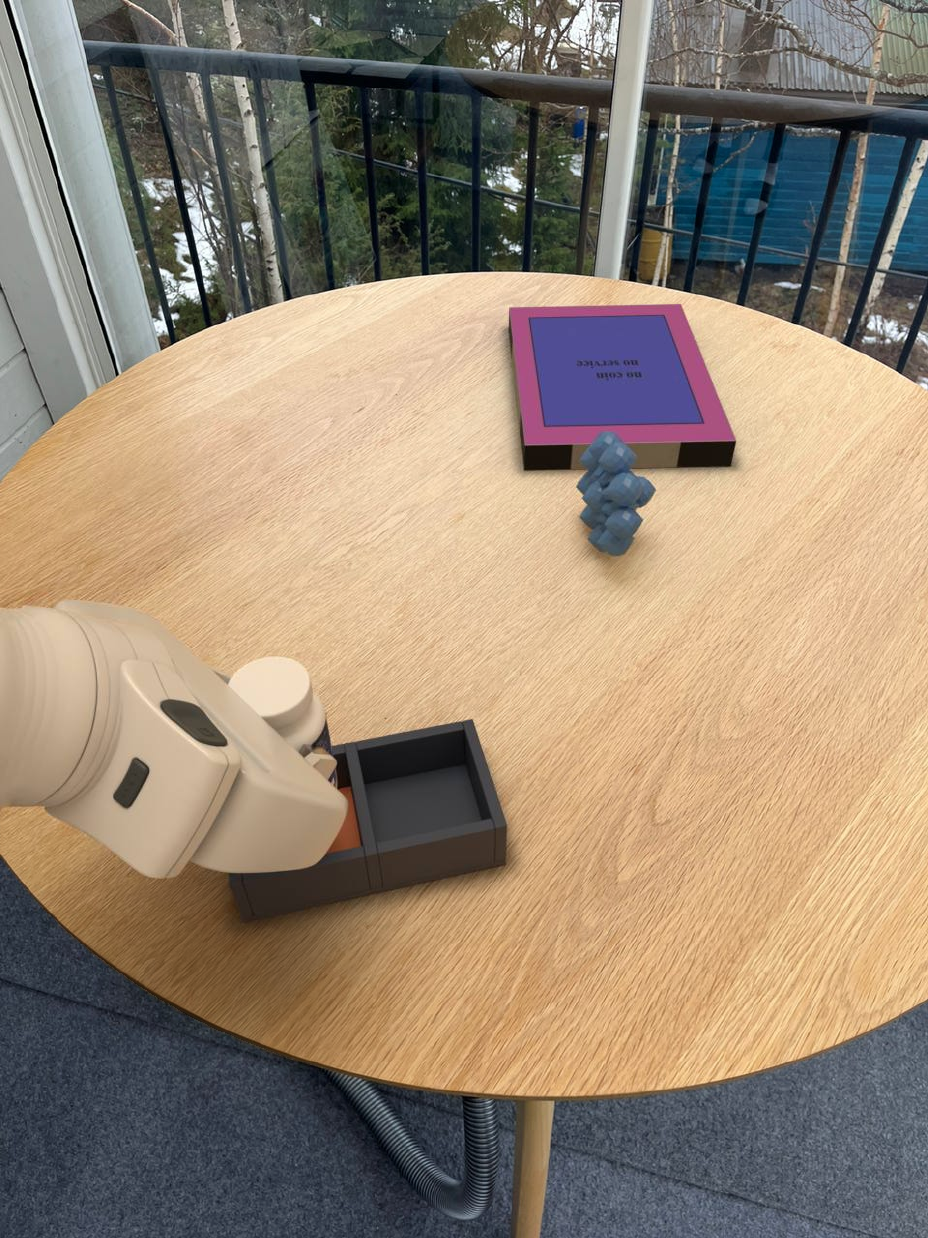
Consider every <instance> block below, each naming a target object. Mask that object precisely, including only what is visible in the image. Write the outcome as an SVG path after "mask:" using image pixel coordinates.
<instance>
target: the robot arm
mask: <svg viewBox="0 0 928 1238" xmlns="http://www.w3.org/2000/svg"><path fill="white" fill-rule="evenodd" d="M232 676H233V675H230V674H228V673H226V672H224V671H222V670H220V669H218V668H216V667H214V666H212V665H210V664H207V663H206V662H204V661H203V660H202V659H201V658H200V657H199V656H198V655H197V654H196V653H195V652H194V651H192V649H190V647H188V645H187V644H186V643H184V642H183V641H182V640H181V639H180V638H179V637H178V636H177V634H175V633H174V632H173V631H172V630H171V629H169V627H168V626H167V625H165V623H164V622H163V621H162V620H161V619H159V618H158V617H156V616H154V615H152V614H151V613H149V612H147V611H144V610H142V609H139V608H137V607H133V606H127V605H122V604H121V605H120V604H116V603H109V602H101V601H95V600H87V599H71V598H69V599H64V600H61V601H59V602H58V603H57V604H56V606H55V608H54V607H53V608H52V607H45V606H36V605H29V604H25V605H22V606H21V607H18V608H7V607H2V606H0V812H1V811H2V810H4V809H7V808H39V807H40V808H44V811H45V812H46V813H47V814H48V815H50V816H51V817H52V818H54V819H56V820H59V821H60V822H63V823H65V824H67V825H69V826H71V827H72V828H75V829H76V830H78V831H80V832H82V833H84V834H85V835H87V836H89V837H90V838H91V839H93V840H95V841H96V842H98V843H99V844H100V845H102V846H103V847H104V848H106V849H107V850H109V851H110V852H111V853H113V855H115V856H117V857H118V858H119V859H121V861H123V862H124V863H125V864H127V865H128V866H129V867H131V868H132V869H133V870H135V871H136V872H138V873H139V874H140V875H142V876H144V877H147V878H150V879H157V880H161V879H163V880H164V879H171V878H175V877H177V876H179V875H180V874H181V872H182V871H183V870H184V868H185V867H186V866H187V864H188V863H189V862H192V863H193V864H195V865H197V866H199V867H202V868H204V869H207V870H211V871H215V872H220V873H226V874H227V873H228V874H229V873H261V872H277V871H288V870H296V869H303V868H307V867H310V866H313V865H314V864H316V863H317V862H318V861H319V860H320V859H321V858H322V857H323V856H324V855H325V853H326V852H327V851H328V849H329V848H330V846H331V844H332V843H333V841H334V840H335V838H336V836H337V834H338V833H339V831H340V829H341V827H342V825H343V823H344V820H345V818H346V815H347V811H348V801H347V799H346V797H345V796H344V795H343V794H342V793H341V792H340V791H338V790H337V789H336V788H335V787H334V786H333V785H332V784H331V783H330V782H329V781H328V779H329V777H330V776H331V774H332V772H333V770H334V769H335V767H336V765H337V761H336V760H335V759H334V758H333V757H332V756H331V755H330V754H329V753H328V752H327V751H326V750H324V749H323V748H322V747H321V746H319V745H316V746H313V745H308V744H304V745H303V746H302V748H301V750H300V752H299V753H298V752H297V751H296V750H295V749H294V748H293V747H292V746H291V745H290V744H289V743H288V742H287V741H286V740H285V739H284V738H283V737H282V736H281V735H280V734H279V733H277V732H276V731H275V730H274V729H273V728H272V727H271V726H270V725H269V724H268V723H267V722H266V721H265V720H264V719H263V718H262V717H261V716H260V715H259V714H258V713H256V712H255V711H254V710H253V709H252V708H251V707H250V706H249V705H248V704H247V703H246V702H245V701H244V700H243V699H242V698H241V697H240V696H239V695H238V694H237V693H236V692H234V691H233V690H232V689H231V688H230V687H229V686H228V683H229V681H230V679H231V677H232Z"/></svg>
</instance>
